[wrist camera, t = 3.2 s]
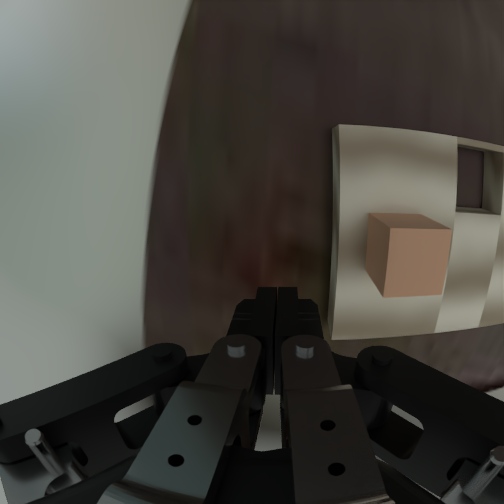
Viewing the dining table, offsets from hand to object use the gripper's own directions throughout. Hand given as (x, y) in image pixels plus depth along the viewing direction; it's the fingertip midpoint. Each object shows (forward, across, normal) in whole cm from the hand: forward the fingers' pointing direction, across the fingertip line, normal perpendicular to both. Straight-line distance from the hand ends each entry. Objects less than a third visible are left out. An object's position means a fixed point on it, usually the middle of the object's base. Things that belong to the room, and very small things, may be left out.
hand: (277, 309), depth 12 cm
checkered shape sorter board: (+12, -19, 0) cm, 22 cm away
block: (+9, -8, 0) cm, 12 cm away
